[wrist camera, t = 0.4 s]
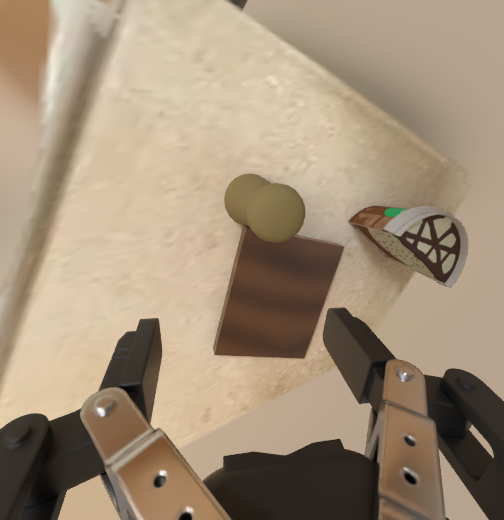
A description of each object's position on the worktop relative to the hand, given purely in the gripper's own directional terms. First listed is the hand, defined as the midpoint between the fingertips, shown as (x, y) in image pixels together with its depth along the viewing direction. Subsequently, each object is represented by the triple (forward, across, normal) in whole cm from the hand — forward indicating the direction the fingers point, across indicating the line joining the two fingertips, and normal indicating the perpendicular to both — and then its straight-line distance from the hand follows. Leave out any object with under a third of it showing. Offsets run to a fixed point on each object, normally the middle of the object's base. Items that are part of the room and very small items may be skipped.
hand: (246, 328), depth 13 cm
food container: (+24, -23, +2) cm, 33 cm away
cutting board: (+21, -8, +12) cm, 26 cm away
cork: (+22, -4, -1) cm, 23 cm away
